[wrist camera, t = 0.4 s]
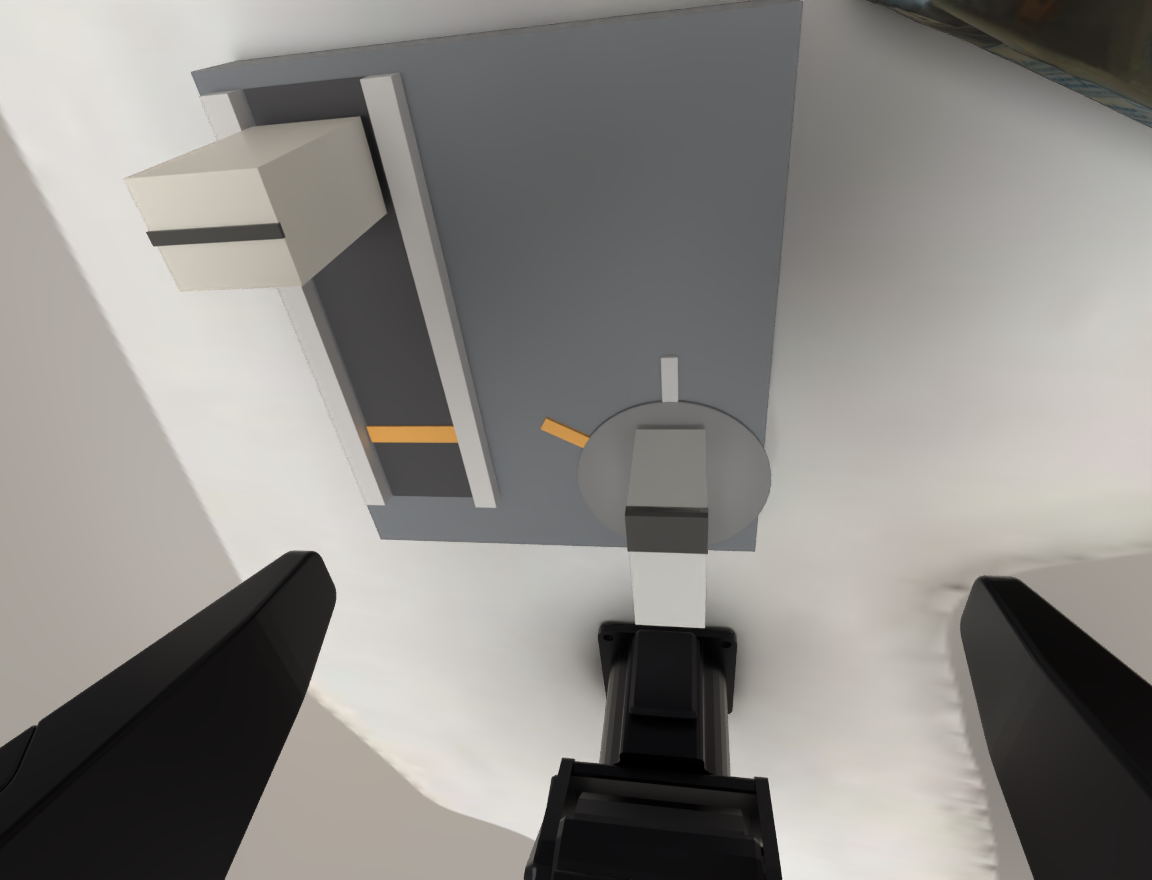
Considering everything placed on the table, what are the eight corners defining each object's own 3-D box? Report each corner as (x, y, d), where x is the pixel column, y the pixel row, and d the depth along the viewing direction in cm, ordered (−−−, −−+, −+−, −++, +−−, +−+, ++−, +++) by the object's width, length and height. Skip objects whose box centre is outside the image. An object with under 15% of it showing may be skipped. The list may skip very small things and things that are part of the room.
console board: (759, 514, 25) (764, 564, 23) (398, 506, 28) (375, 550, 26) (804, -6, 15) (822, 2, 13) (234, 61, 18) (176, 75, 16)
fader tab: (387, 212, 17) (302, 287, 14) (287, 219, 18) (177, 292, 14) (360, 116, 16) (256, 168, 12) (252, 126, 17) (119, 179, 13)
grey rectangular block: (704, 537, 23) (705, 633, 20) (642, 535, 24) (634, 629, 20) (706, 425, 20) (708, 517, 17) (635, 425, 21) (624, 515, 17)
